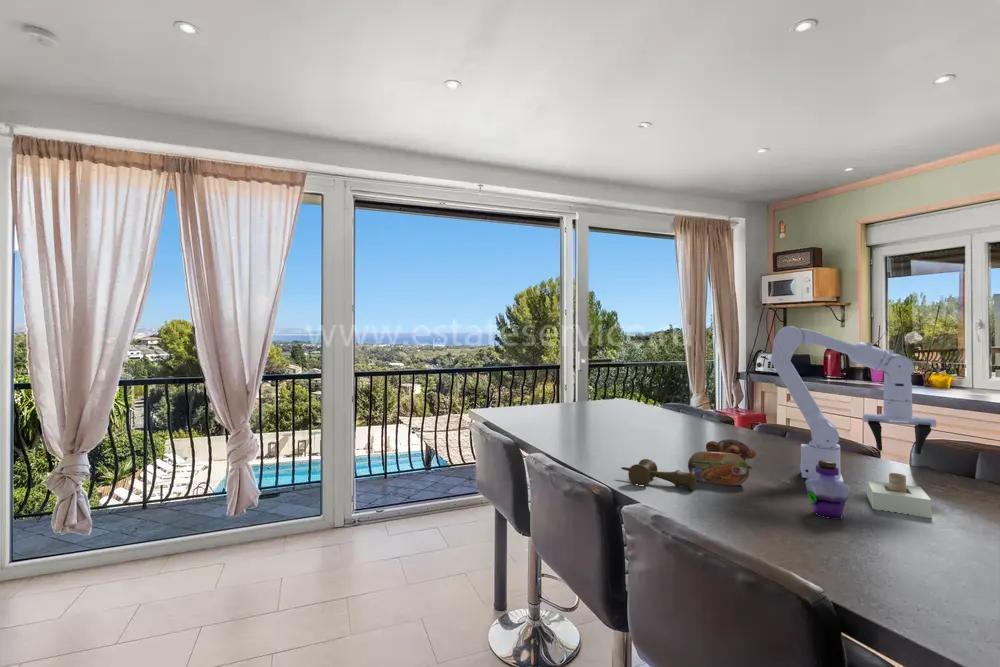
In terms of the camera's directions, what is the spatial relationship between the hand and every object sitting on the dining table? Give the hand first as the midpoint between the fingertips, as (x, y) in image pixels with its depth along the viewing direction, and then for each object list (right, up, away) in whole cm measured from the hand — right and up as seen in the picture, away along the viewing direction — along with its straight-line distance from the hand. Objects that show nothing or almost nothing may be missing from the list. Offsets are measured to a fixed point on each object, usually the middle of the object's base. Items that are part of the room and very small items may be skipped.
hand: (898, 451), depth 121 cm
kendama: (-62, -11, +5) cm, 63 cm away
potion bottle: (-32, -10, -18) cm, 37 cm away
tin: (-45, -10, +5) cm, 47 cm away
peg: (-12, -9, -14) cm, 20 cm away
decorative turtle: (-34, -10, +22) cm, 41 cm away
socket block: (-12, -9, -14) cm, 21 cm away
